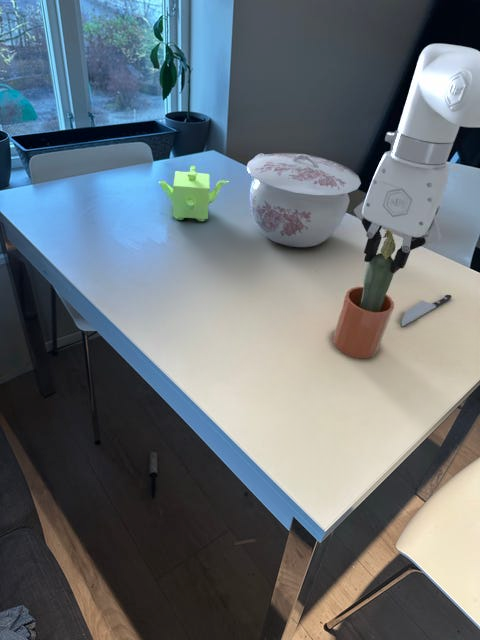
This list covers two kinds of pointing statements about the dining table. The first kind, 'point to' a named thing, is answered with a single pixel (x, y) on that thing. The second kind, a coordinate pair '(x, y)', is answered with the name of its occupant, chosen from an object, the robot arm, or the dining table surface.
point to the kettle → (191, 194)
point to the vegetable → (378, 276)
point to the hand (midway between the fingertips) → (382, 263)
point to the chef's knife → (421, 310)
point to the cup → (361, 325)
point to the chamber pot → (299, 197)
